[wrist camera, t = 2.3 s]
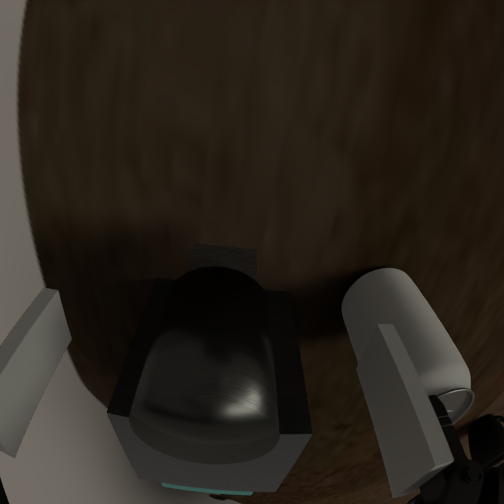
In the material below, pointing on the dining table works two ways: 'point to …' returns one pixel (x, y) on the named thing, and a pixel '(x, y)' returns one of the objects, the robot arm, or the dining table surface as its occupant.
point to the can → (409, 334)
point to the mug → (487, 440)
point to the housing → (219, 475)
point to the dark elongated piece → (211, 364)
